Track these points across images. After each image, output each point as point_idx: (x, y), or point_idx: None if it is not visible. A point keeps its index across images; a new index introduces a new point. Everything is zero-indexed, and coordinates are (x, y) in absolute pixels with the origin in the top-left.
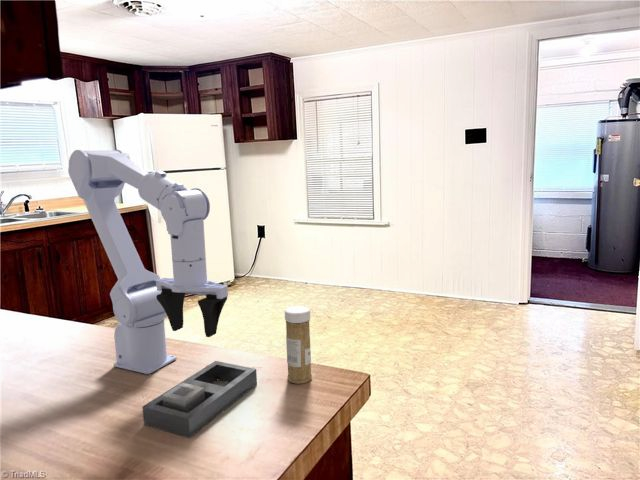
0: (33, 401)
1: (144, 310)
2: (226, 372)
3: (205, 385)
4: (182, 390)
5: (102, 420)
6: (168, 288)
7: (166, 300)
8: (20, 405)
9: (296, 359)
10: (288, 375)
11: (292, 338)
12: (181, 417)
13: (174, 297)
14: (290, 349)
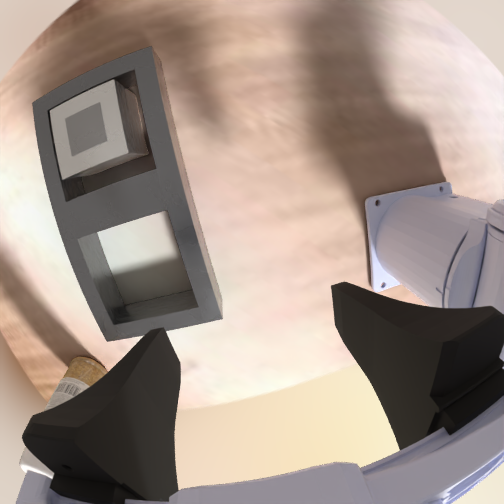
0: (422, 25)
1: (499, 271)
2: (171, 305)
3: (113, 211)
4: (89, 129)
5: (254, 21)
6: (481, 416)
7: (429, 345)
8: (421, 12)
9: (56, 388)
10: (91, 366)
11: None
12: (47, 94)
13: (416, 401)
14: (58, 401)
